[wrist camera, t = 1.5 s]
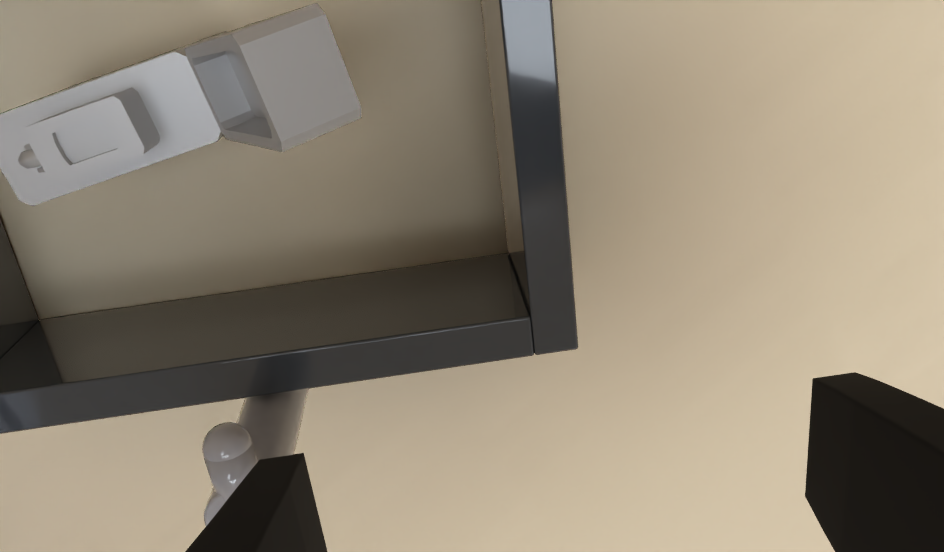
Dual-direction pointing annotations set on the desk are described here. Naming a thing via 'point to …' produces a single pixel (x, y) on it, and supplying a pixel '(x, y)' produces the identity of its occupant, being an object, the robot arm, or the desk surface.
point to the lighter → (183, 106)
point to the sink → (323, 303)
